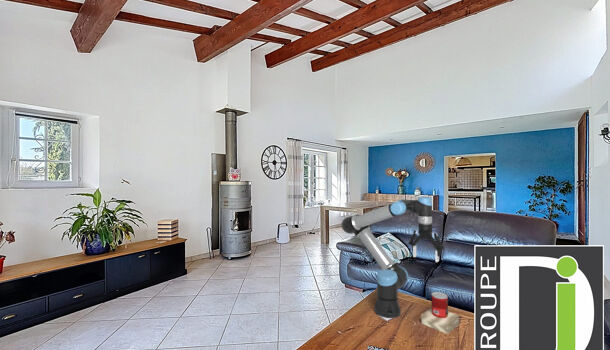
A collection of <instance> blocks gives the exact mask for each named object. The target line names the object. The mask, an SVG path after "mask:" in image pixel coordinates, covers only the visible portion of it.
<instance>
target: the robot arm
mask: <svg viewBox="0 0 610 350" xmlns="http://www.w3.org/2000/svg"><path fill="white" fill-rule="evenodd" d="M432 202H433V201H432V197H429V196H420V197H417V200H416V199H399V200H398V201H394V202H392V203H389V204H386V205H384V206H382V207H378V208H376V209H373V210H370V211H368V212H365V213H362V214H354V215H350V216H345V218H343V219H342V221H341V228H342V231H343V232H345V233H346V234H350V235H352V234H353V235H354V236H355V237H356V238H358V239H360V240H361V242H362V243H363V246H365V247H366V249H367V250H368V251H369V253H370V254H371V256H372V257H373V258H374V260H375V262H376V263H377V264H378V266H379V267H380V268H381V270H379V271H378V272H377V274H376V294H377V295H376V296H377V297H376V300H375V303H374V307H373V308H374V312H375V314H376V315H378V316H380V317H382V318H386V319H388V318H389V319H393V318H398V317H400V316H401V314H402V310H401V306H400V303H399V299H398V290H400V289H401V288H403V287H404V286H405V285H406V284H407V283H408V280H409V273H408V271H407V270H406V269H405V267H403V266H401V265H399V264H398V262H396V261H393V260H392V258H391V257H390V256H389V254H388V253H387V252H386V250H385V249H384V248H383V247H382V245H381V244H380V243H379V241H378V240H377V238H376V237H375V235H374V234H373V232H372V231H371V226H370V225H373V224H374V223H375V224H376V223H378V222H382V221H385V220H388V219H390V218H391V219H392V218H393V217H397V216H401V215H403V214H407V213H418V215H417V216H418V221H417V222H418V226H417V227H418V229H414V230H412V231H413V232H412V236H411V237H410V240H409V242H408V245H411V251H412V257H413V258H417V244H418V243H419V241H420V240H423V239H424V240H428V241H429V242H430V243H431V244H432V246H433V247H434V248H435V249H436V250H435V251H434V252H435V256H434V257H435V263H438V262H439V261H440V257H441V251H442V250H445V248H444V246H443V243H442V242H441V239H440V236H439V233H438V232H433V203H432ZM417 235H418V236H417ZM416 237H417V238H416Z"/></svg>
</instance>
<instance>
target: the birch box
mask: <svg viewBox="0 0 610 350" xmlns="http://www.w3.org/2000/svg"><path fill="white" fill-rule="evenodd" d="M420 318H421V319H420V320H421V324H422V325H423V326H427V327H429V328H431V329H434V330H436V331H439V332H441V333H444V334H447V335H449V334H450V333H451V332H452V331H453V330H454V329H456V328H457V327H458V326H459V324H460V315H459V314H456V313H453V312H450V311H448V316H447V317H446V318H439V317H436V316H434V315H433V314H432V307H430V308H429V309H428V310H426V311H425V312H423V313H421V316H420Z"/></svg>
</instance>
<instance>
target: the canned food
mask: <svg viewBox="0 0 610 350" xmlns="http://www.w3.org/2000/svg"><path fill="white" fill-rule="evenodd" d="M431 308H432V314H433V315H434V316H436V317H439V318H446V317H447V316H448V312H449V298H448V294H446V293H444V292H440V291H434V292H431Z"/></svg>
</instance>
